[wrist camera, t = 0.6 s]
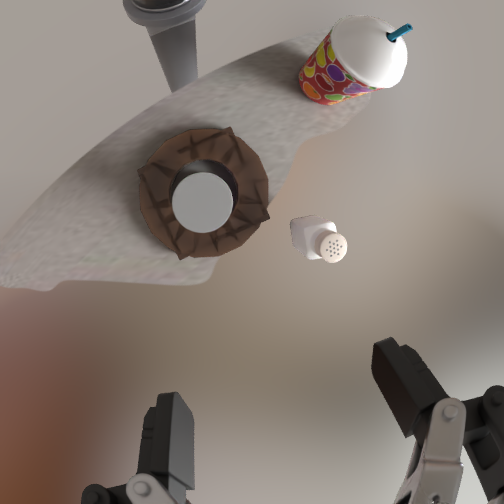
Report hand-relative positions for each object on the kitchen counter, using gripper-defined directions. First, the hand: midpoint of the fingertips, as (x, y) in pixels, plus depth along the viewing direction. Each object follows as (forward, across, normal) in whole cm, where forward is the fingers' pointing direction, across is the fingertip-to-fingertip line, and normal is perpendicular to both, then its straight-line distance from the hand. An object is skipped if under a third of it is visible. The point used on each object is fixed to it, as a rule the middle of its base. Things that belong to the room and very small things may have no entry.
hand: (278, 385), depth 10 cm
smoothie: (+31, -15, -13) cm, 37 cm away
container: (+28, +4, -2) cm, 28 cm away
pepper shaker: (+28, -8, +6) cm, 29 cm away
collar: (+28, +4, -2) cm, 28 cm away
